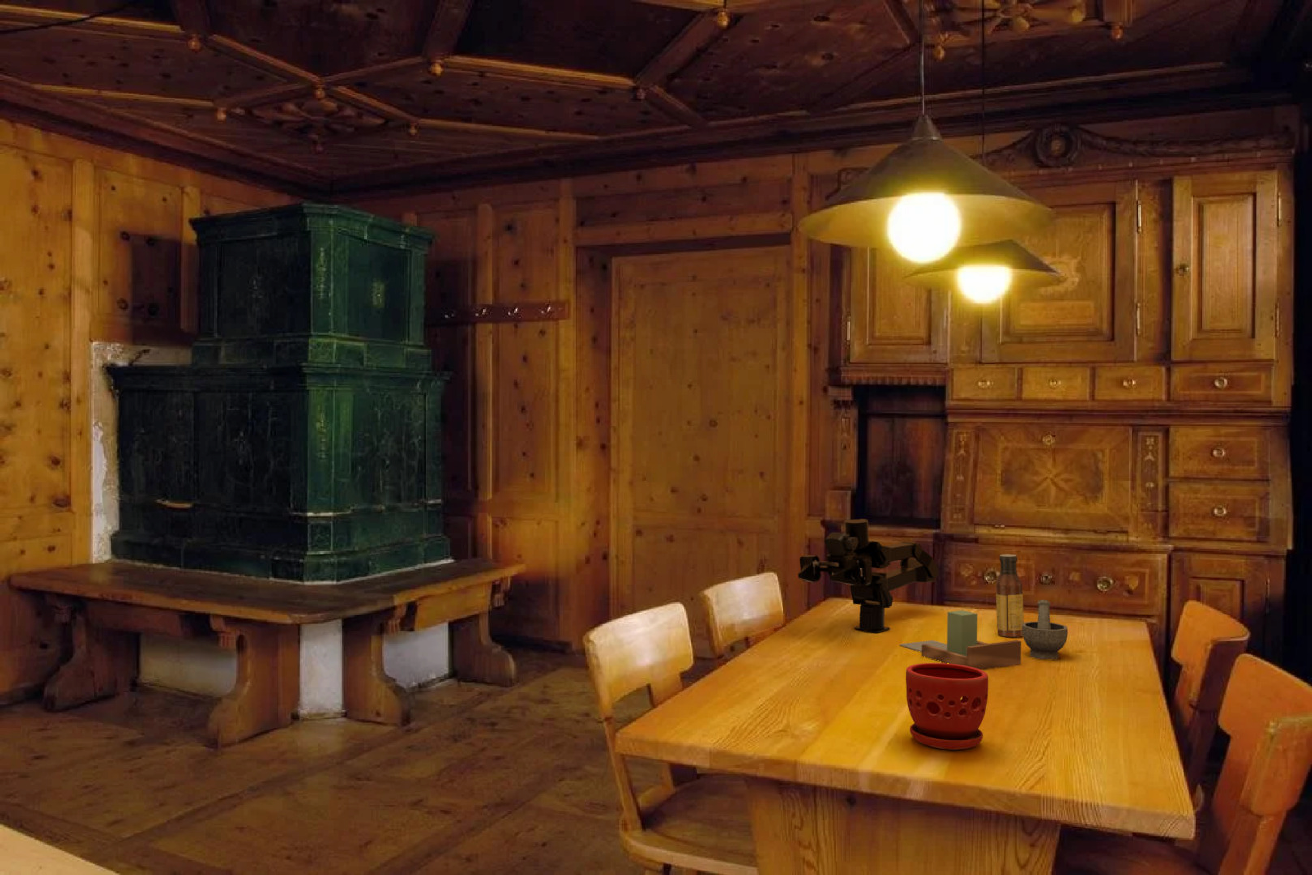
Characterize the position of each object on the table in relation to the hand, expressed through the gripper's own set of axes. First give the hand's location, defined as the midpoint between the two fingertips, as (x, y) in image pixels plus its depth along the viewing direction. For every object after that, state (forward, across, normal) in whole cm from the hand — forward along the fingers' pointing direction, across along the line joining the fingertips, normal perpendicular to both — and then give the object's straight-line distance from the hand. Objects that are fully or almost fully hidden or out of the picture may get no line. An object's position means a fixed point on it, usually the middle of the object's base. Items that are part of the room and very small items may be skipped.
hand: (814, 577), depth 232 cm
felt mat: (-16, +19, +19) cm, 31 cm away
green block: (-13, +28, +19) cm, 37 cm away
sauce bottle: (-42, +26, +22) cm, 54 cm away
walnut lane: (-12, +30, +19) cm, 38 cm away
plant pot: (+43, +54, +16) cm, 71 cm away
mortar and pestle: (-27, +41, +22) cm, 54 cm away
